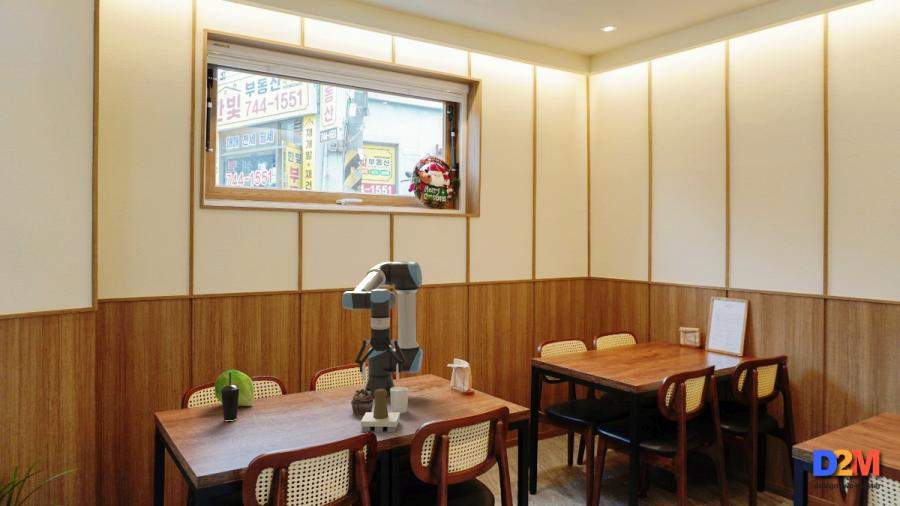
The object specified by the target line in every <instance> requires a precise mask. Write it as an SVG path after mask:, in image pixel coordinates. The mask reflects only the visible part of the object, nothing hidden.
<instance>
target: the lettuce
mask: <svg viewBox="0 0 900 506" xmlns="http://www.w3.org/2000/svg"><path fill="white" fill-rule="evenodd" d="M229 372H231V384H232V385H237V386H240V389H239V397H238V407H251V406H252V405H253V404H254V402H255V388H254V383H253V380H252V378H250V377H249V376H248V375H247V374H246V373H244V372H242V371H239V370H236V369H230V370H226V371H224V372H222V373H220V375H219V376H218V377H217V379H216V381H215V382H214V383H215V384H214V395H215V396H214V397H215V398H216V399H218V401H219V402H220V403H221V404H222V395H221V390H220V388H222V387H224V386H226V385H229Z"/></svg>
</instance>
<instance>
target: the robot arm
mask: <svg viewBox="0 0 900 506" xmlns="http://www.w3.org/2000/svg"><path fill="white" fill-rule="evenodd" d="M422 285H423V275H422V269H421V267H420V264H419V263H418V262H416V261H383V262H380V263H378V264H376V265H374V266H373V267H371V268H370V269H369V270H368V271H367V273H366V274H365V278H364V279H363V280H362V281H361V282H360V283H359V284H358V285H357V286H356V288H354V290H353V291H351V290H349V291H344V292H343V294H342V298H341V304H342V308H344V310H352V311H353V310H370V327H371V329H370V340H369V339H366V338H365V339H364V340H363V341H362V346H361V348H360V351H359V352H358V354H357V356H356V358H355V361H354V363H355V364H358V365H359V373H362V376H361V377H362V382H365V381H366V380H367V381H366V384H365V387H364V391H365V390H366V391H368V390H369V391H370V392H371V396H372V398H375V396H374V392H375V390H377V389H385V390H386V391H387V396H386V397H391V394H390V389H391V388H393V387H396V385H395V381H394V379H393V373H395V374H396V376H395V377H396V382H399V381H400V373H401V374H404V373H405V374H414V373H415V374H417V373H418V372H420V370H421V368H422V364H423V357H424V355H423V354H424V350H423V349H422V348H420V344H419V343H418V341H417V322H416V321H417V320H416V319H417V316H416V314H417V311H416V309H417V308H416V307H417V305H416V303H417V301H416V300H417V297H416V294H417V292H418V291H419V287H420V286H422ZM383 286H385V287H386V286H389V287H390V286H393V287H394V291H395V292H396V293H397V295H396V294H395V292H393V291H391V290H389V289H387V288H381V287H383ZM396 304H397V320H398V321H397V324H398V325H397V327H398V328H397V330H398V332H397V333H398V334H397V336H398V338H396V339H391V333H390V332H391V329H390V324H391V322H390V321H391V318H390V317H391V315H390V312H391V311H390V310H392V309H393V308H394V307H395V306H396ZM369 344H370V346H371V347H370V348H369V349H368V351H367V352H366V354H365V355H364V357H363V358H362V355H363V354H364V352H365V350H366V347H367V346H369ZM393 346H394V347H393ZM361 358H362V359H361ZM366 360H367V376H366V363H365V362H366ZM366 378H367V379H366Z"/></svg>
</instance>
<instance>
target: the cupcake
mask: <svg viewBox="0 0 900 506" xmlns="http://www.w3.org/2000/svg"><path fill="white" fill-rule="evenodd" d="M373 398H374V397H372V396H371V392H370V391H369V390H368V391H366V390H365V388H362V389H359V390H358V389H357V390H355V392H353V396H352V400H351V402H350V404H351V408H352V414H353V415H356V416H364V415H365V413H366V412H373V405H374V399H373Z"/></svg>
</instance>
